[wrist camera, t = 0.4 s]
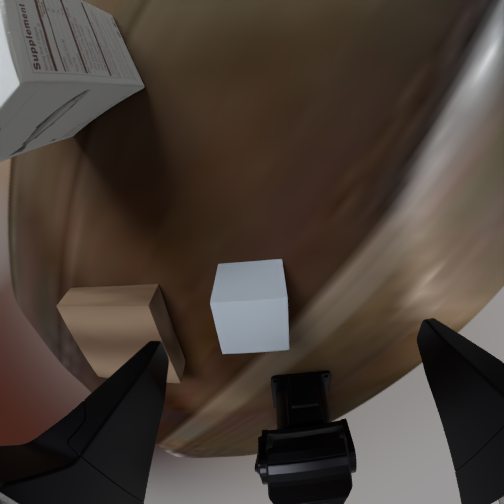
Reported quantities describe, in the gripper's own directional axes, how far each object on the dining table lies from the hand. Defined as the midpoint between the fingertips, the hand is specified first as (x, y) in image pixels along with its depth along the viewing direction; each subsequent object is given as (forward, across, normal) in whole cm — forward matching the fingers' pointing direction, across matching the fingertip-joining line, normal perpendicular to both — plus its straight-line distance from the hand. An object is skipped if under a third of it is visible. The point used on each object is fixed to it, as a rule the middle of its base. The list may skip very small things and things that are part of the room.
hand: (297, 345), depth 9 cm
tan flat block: (+14, +15, +11) cm, 23 cm away
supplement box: (+13, +12, -12) cm, 22 cm away
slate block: (+14, +2, +7) cm, 15 cm away
